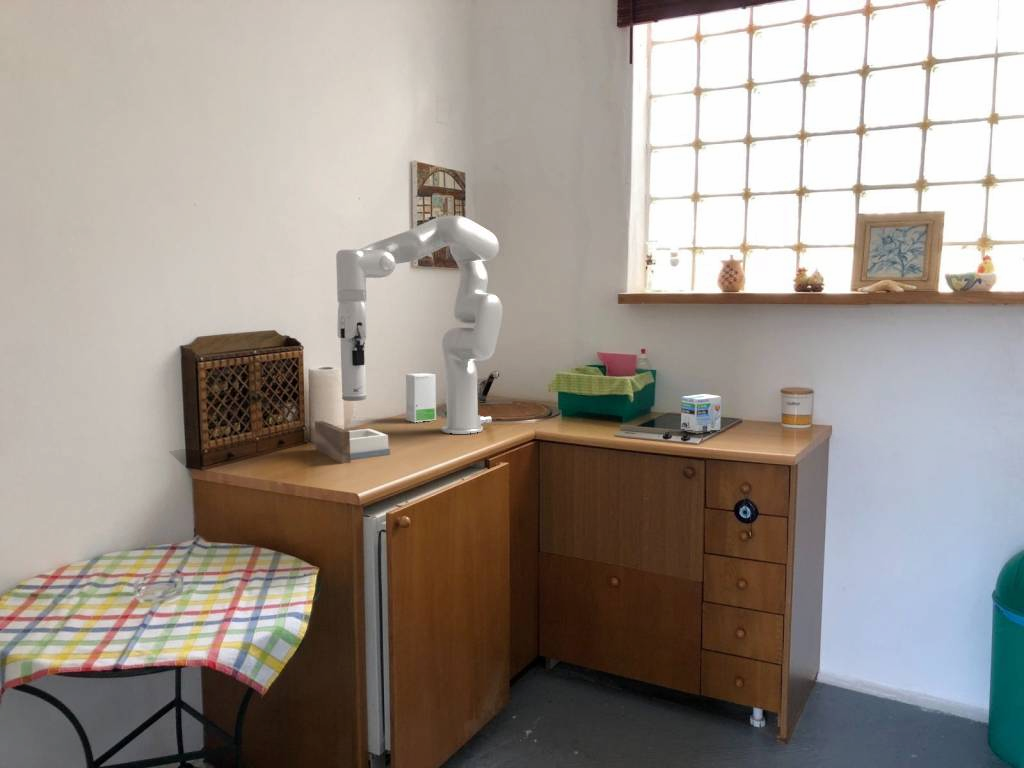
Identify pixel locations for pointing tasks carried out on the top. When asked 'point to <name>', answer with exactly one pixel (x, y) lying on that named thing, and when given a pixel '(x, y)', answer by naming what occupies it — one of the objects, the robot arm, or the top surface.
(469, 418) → the robot arm
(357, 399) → the travel mug
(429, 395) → the skincare box
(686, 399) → the light bulb box
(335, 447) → the wall
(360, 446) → the socket block
